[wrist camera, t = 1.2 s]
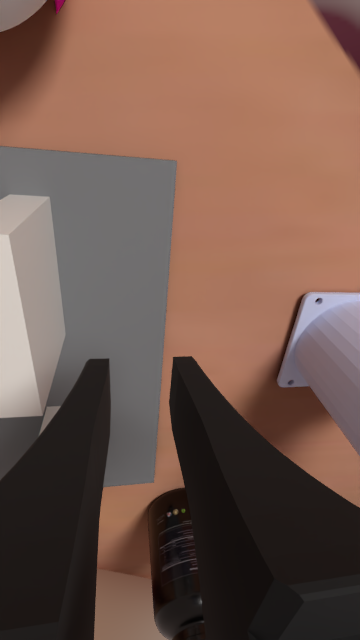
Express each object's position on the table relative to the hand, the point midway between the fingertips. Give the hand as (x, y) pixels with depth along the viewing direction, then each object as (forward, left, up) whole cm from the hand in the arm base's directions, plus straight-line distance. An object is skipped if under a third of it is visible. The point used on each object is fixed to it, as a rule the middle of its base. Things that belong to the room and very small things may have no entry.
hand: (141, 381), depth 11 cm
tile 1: (+5, 0, -9) cm, 10 cm away
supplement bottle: (-5, +25, -10) cm, 27 cm away
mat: (+6, +7, -9) cm, 13 cm away
